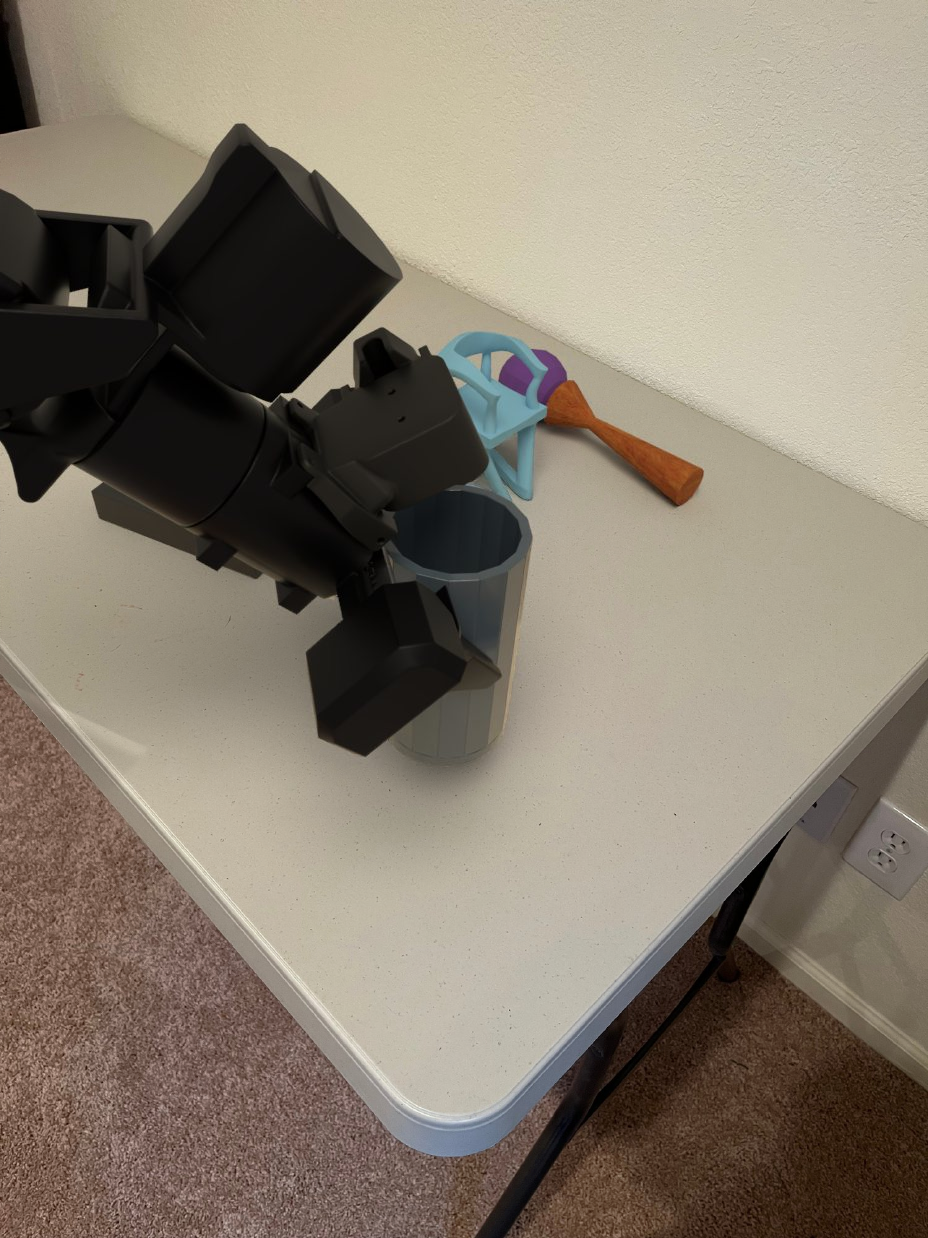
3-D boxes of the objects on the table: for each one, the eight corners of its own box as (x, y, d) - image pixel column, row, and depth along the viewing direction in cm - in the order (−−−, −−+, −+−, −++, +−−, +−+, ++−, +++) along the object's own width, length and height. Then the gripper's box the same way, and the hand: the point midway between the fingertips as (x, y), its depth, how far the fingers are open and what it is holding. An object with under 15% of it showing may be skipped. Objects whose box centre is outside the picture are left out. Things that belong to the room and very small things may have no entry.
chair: (488, 528, 69) (500, 387, 61) (410, 480, 73) (412, 341, 64) (551, 486, 73) (572, 349, 65) (475, 443, 77) (485, 308, 69)
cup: (362, 748, 48) (356, 559, 39) (404, 658, 53) (406, 471, 43) (488, 781, 47) (511, 595, 38) (518, 686, 51) (546, 501, 42)
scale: (98, 518, 68) (87, 481, 65) (199, 439, 75) (193, 404, 73) (256, 579, 64) (251, 543, 61) (345, 489, 72) (343, 454, 69)
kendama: (671, 480, 68) (483, 357, 76) (660, 532, 73) (484, 411, 81) (721, 439, 70) (533, 324, 79) (706, 492, 75) (531, 378, 83)
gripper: (413, 465, 26) (682, 671, 36) (326, 213, 39) (542, 417, 49) (173, 686, 30) (476, 817, 40) (166, 391, 43) (397, 546, 53)
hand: (475, 627), depth 45 cm, fingers closed on cup, 7 cm apart
